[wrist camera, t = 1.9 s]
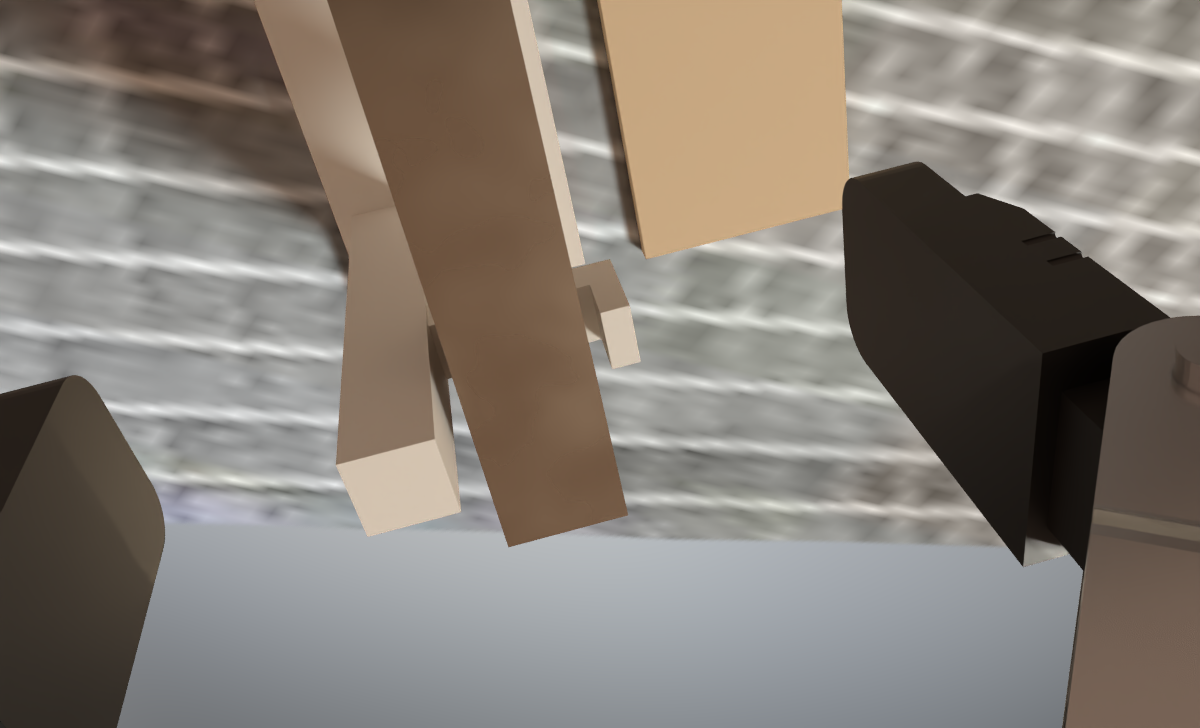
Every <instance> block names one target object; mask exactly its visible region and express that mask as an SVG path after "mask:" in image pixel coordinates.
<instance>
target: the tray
mask: <svg viewBox="0 0 1200 728" xmlns="http://www.w3.org/2000/svg"><path fill="white" fill-rule="evenodd" d="M597 3H598V8H599V14H600V20H601V25H602V31H603V36H604V42H605V47H606V53H607V58H608V64H609V70H610V75H611V81H612V86H613V92H614V97H615V103H616V108H617V114H618V120H619V125H620V131H621V136H622V142H623V147H624V153H625V159H626V164H627V170H628V175H629V181H630V186H631V192H632V197H633V203H634V209H635V214H636V220H637V225H638V231H639V236H640V242H641V248H642V252H643V254H644V256H645V258H646V259H649V258H653V257H657V256H661V255H664V254H668V253H672V252H676V251H680V250H684V249H688V248H692V247H696V246H700V245H704V244H708V243H711V242H715V241H719V240H723V239H727V238H731V237H735V236H739V235H743V234H747V233H751V232H754V231H758V230H762V229H766V228H770V227H774V226H778V225H782V224H786V223H790V222H794V221H798V220H801V219H805V218H809V217H813V216H817V215H821V214H825V213H829V212H833V211H837V210H841V209H842V195H843V189H844V186H845V183H846V182H847V180H849V165H848V142H847V118H846V94H845V71H844V47H843V23H842V0H597Z"/></svg>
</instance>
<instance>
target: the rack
mask: <svg viewBox="0 0 1200 728" xmlns="http://www.w3.org/2000/svg"><path fill="white" fill-rule="evenodd" d="M510 1H511V6H512V10H513V14H514V19H515V23H516V27H517V32H518V36H519V41H520V45H521V49H522V54H523V58H524V62H525V67H526V71H527V75H528V80H529V84H530V89H531V93H532V97H533V102H534V106H535V110H536V115H537V119H538V124H539V128H540V132H541V137H542V141H543V145H544V150H545V154H546V159H547V163H548V167H549V172H550V176H551V180H552V185H553V189H554V194H555V198H556V202H557V207H558V211H559V215H560V220H561V224H562V229H563V233H564V237H565V242H566V246H567V250H568V255H569V259H570V264H571V267H574V266H578V265H582V264H585V261H584V256H583V252H582V247H581V243H580V238H579V234H578V229H577V224H576V220H575V215H574V211H573V206H572V202H571V197H570V192H569V188H568V183H567V179H566V174H565V170H564V165H563V160H562V156H561V151H560V147H559V142H558V138H557V133H556V129H555V124H554V119H553V115H552V110H551V106H550V101H549V97H548V92H547V87H546V83H545V78H544V74H543V69H542V65H541V60H540V55H539V51H538V46H537V42H536V37H535V33H534V28H533V23H532V19H531V14H530V10H529V5H528V1H527V0H510ZM254 3H255V6H256V8H257V11H258V14H259V16H260V19H261V22H262V24H263V27H264V30H265V32H266V35H267V38H268V40H269V43H270V46H271V48H272V51H273V54H274V56H275V59H276V62H277V65H278V67H279V70H280V73H281V75H282V78H283V81H284V83H285V86H286V89H287V91H288V94H289V97H290V99H291V102H292V105H293V107H294V110H295V113H296V115H297V118H298V121H299V123H300V126H301V129H302V131H303V134H304V137H305V140H306V142H307V145H308V148H309V150H310V153H311V156H312V158H313V161H314V164H315V166H316V169H317V172H318V174H319V177H320V180H321V182H322V185H323V188H324V190H325V193H326V196H327V198H328V201H329V204H330V206H331V209H332V212H333V215H334V217H335V220H336V223H337V225H338V228H339V231H340V233H341V236H342V239H343V241H344V244H345V247H346V249H347V252H348V255H349V271H348V286H347V302H346V317H345V333H344V348H343V364H342V379H341V395H340V410H339V426H338V441H337V457H336V466H337V468H338V471H339V473H340V475H341V478H342V480H343V482H344V484H345V487H346V489H347V491H348V493H349V496H350V498H351V500H352V502H353V505H354V507H355V509H356V511H357V514H358V516H359V518H360V520H361V523H362V525H363V527H364V529H365V532H366V534H367V536H368V537H369V536H373V535H377V534H380V533H384V532H388V531H392V530H395V529H399V528H403V527H407V526H410V525H414V524H418V523H422V522H425V521H429V520H433V519H437V518H441V517H444V516H448V515H452V514H456V513H459V512H461V506H460V496H459V486H458V476H457V466H456V456H455V446H454V436H453V426H452V416H451V406H450V395H449V385H448V379H450V378H452V375H451V372H450V369H449V366H448V363H447V360H446V357H445V354H444V351H443V348H442V345H441V342H440V339H439V336H438V333H437V330H436V327H435V324H434V321H433V318H432V315H431V312H430V309H429V306H428V303H427V300H426V297H425V294H424V291H423V288H422V285H421V282H420V279H419V276H418V273H417V270H416V267H415V264H414V261H413V258H412V255H411V252H410V249H409V246H408V243H407V240H406V237H405V234H404V231H403V228H402V225H401V222H400V219H399V216H398V213H397V210H396V207H395V204H394V201H393V198H392V195H391V192H390V189H389V186H388V183H387V180H386V177H385V174H384V170H383V167H382V164H381V161H380V158H379V155H378V152H377V149H376V146H375V143H374V140H373V137H372V134H371V131H370V128H369V125H368V122H367V119H366V116H365V113H364V110H363V107H362V104H361V101H360V98H359V95H358V92H357V89H356V86H355V83H354V80H353V77H352V74H351V71H350V68H349V65H348V62H347V59H346V56H345V53H344V50H343V47H342V44H341V41H340V38H339V35H338V32H337V29H336V26H335V23H334V20H333V17H332V14H331V11H330V8H329V5H328V2H327V0H254ZM572 272H573V277H574V281H575V285H576V290H577V294H578V299H579V303H580V307H581V312H582V316H583V320H584V325H585V329H586V334H587V338H588V342H592V341H596V340H600V339H602V341H603V344H604V347H605V350H606V353H607V355H608V358H609V361H610V364H611V367H612V369H615V368H619V367H622V366H626V365H630V364H634V363H638V362H641V361H640V356H639V351H638V346H637V341H636V335H635V330H634V325H633V320H632V315H631V310H630V305H629V303H628V301H627V298H626V296H625V293H624V291H623V289H622V286H621V284H620V282H619V279H618V277H617V275H616V272H615V270H614V268H613V265H612V263H611V261H610V259H609V260H605V261H601V262H597V263H593V264H589V265H585V266H581V267H577V268H573V269H572Z"/></svg>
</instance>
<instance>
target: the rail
mask: <svg viewBox="0 0 1200 728" xmlns="http://www.w3.org/2000/svg"><path fill="white" fill-rule="evenodd" d="M327 2H328V5H329V8H330V11H331V14H332V17H333V20H334V23H335V26H336V29H337V32H338V35H339V38H340V41H341V44H342V47H343V50H344V53H345V56H346V59H347V62H348V65H349V68H350V71H351V74H352V77H353V80H354V83H355V86H356V89H357V92H358V95H359V98H360V101H361V104H362V107H363V110H364V113H365V116H366V119H367V122H368V125H369V128H370V131H371V134H372V137H373V140H374V143H375V146H376V149H377V152H378V155H379V158H380V161H381V164H382V167H383V170H384V174H385V177H386V180H387V183H388V186H389V189H390V192H391V195H392V198H393V201H394V204H395V207H396V210H397V213H398V216H399V219H400V222H401V225H402V228H403V231H404V234H405V237H406V240H407V243H408V246H409V249H410V252H411V255H412V258H413V261H414V264H415V267H416V270H417V273H418V276H419V279H420V282H421V285H422V288H423V291H424V294H425V297H426V300H427V303H428V306H429V309H430V312H431V315H432V318H433V321H434V324H435V327H436V330H437V333H438V336H439V339H440V342H441V345H442V348H443V351H444V354H445V357H446V360H447V363H448V366H449V369H450V372H451V375H452V378H453V381H454V384H455V387H456V390H457V393H458V396H459V399H460V403H461V406H462V409H463V412H464V415H465V418H466V421H467V424H468V427H469V430H470V433H471V436H472V439H473V442H474V445H475V448H476V451H477V454H478V457H479V460H480V463H481V466H482V469H483V472H484V475H485V478H486V481H487V484H488V487H489V490H490V493H491V496H492V499H493V502H494V505H495V508H496V511H497V514H498V517H499V520H500V523H501V526H502V529H503V532H504V535H505V538H506V541H507V544H508V547H511V546H515V545H518V544H522V543H526V542H530V541H534V540H537V539H541V538H545V537H549V536H552V535H556V534H560V533H563V532H567V531H571V530H575V529H578V528H582V527H586V526H589V525H593V524H597V523H601V522H604V521H608V520H612V519H616V518H619V517H623V516H627V515H628V513H627V508H626V504H625V500H624V495H623V491H622V487H621V482H620V478H619V473H618V469H617V465H616V460H615V456H614V452H613V447H612V443H611V438H610V434H609V430H608V425H607V421H606V417H605V412H604V408H603V403H602V399H601V395H600V390H599V386H598V382H597V377H596V373H595V369H594V364H593V360H592V355H591V351H590V347H589V342H588V338H587V334H586V329H585V325H584V320H583V316H582V312H581V307H580V303H579V299H578V294H577V290H576V285H575V281H574V277H573V272H572V268H571V264H570V259H569V255H568V250H567V246H566V242H565V237H564V233H563V229H562V224H561V220H560V215H559V211H558V207H557V202H556V198H555V194H554V189H553V185H552V180H551V176H550V172H549V167H548V163H547V159H546V154H545V150H544V145H543V141H542V137H541V132H540V128H539V124H538V119H537V115H536V110H535V106H534V102H533V97H532V93H531V89H530V84H529V80H528V75H527V71H526V67H525V62H524V58H523V54H522V49H521V45H520V41H519V36H518V32H517V27H516V23H515V19H514V14H513V10H512V6H511V1H510V0H327Z"/></svg>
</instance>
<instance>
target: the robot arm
mask: <svg viewBox="0 0 1200 728" xmlns="http://www.w3.org/2000/svg"><path fill="white" fill-rule="evenodd" d="M842 215H843V237H844V258H845V280H846V302H847V313H848V319H849V324H850V328H851V331H852V335H853V338H854V341H855V343H856V346H857V348H858V350H859V352H860V354H861V356H862V358H863V359H864V361H865V362H866V364H867V365H868V366H869V368H870V369H871V370H872V372H873V373H874V374H875V375H876V377H877V378H878V379H879V381H880V382H881V383H882V385H883V386H884V387H885V388H886V390H887V391H888V392H889V394H890V395H891V396H892V397H893V399H894V400H895V401H896V403H897V404H898V405H899V407H900V408H901V409H902V410H903V412H904V413H905V414H906V416H907V417H908V418H909V420H910V421H911V422H912V423H913V425H914V426H915V427H916V429H917V430H918V431H919V433H920V434H921V435H922V436H923V438H924V439H925V440H926V442H927V443H928V444H929V446H930V447H931V448H932V449H933V451H934V452H935V453H936V455H937V456H938V457H939V458H940V460H941V461H942V462H943V464H944V465H945V466H946V468H947V469H948V470H949V471H950V473H951V474H952V475H953V477H954V478H955V479H956V481H957V482H958V483H959V484H960V486H961V487H962V488H963V490H964V491H965V492H966V494H967V495H968V496H969V497H970V499H971V500H972V501H973V503H974V504H975V505H976V507H977V508H978V509H979V510H980V512H981V513H982V514H983V516H984V517H985V518H986V519H987V521H988V522H989V523H990V525H991V526H992V527H993V529H994V530H995V531H996V532H997V534H998V535H999V536H1000V538H1001V539H1002V540H1003V542H1004V543H1005V544H1006V545H1007V547H1008V548H1009V549H1010V551H1011V552H1012V553H1013V554H1014V556H1015V557H1016V558H1017V560H1018V561H1019V562H1020V564H1021V565H1022V566H1023V567H1026V566H1029V565H1033V564H1036V563H1040V562H1043V561H1047V560H1051V559H1054V558H1058V557H1061V556H1065V555H1068V554H1070V555H1071V556H1072V557H1073V559H1074V560H1075V561H1076V562H1077V564H1078V565H1079V566H1080V567H1081V568H1082V570H1083V576H1082V583H1081V591H1080V597H1079V605H1078V612H1077V620H1076V627H1075V635H1074V642H1073V650H1072V658H1071V665H1070V672H1069V680H1068V688H1067V695H1066V703H1065V710H1064V717H1063V725H1062V728H1200V316H1183V317H1175V318H1170V317H1169V316H1167V315H1166V314H1165V313H1163V312H1162V311H1161V310H1159V309H1158V308H1157V307H1155V306H1154V305H1153V304H1151V303H1150V302H1149V301H1147V300H1146V299H1144V298H1143V297H1142V296H1140V295H1139V294H1138V293H1136V292H1135V291H1134V290H1132V289H1131V288H1130V287H1128V286H1127V285H1126V284H1124V283H1123V282H1122V281H1120V280H1119V279H1118V278H1116V277H1115V276H1113V275H1112V274H1111V273H1109V272H1108V271H1107V270H1105V269H1104V268H1103V267H1101V266H1100V265H1099V264H1097V263H1096V262H1095V261H1093V260H1092V259H1091V258H1089V257H1085V258H1083V257H1082V254H1081V251H1080V250H1078V249H1077V248H1076V247H1074V246H1073V245H1072V244H1070V243H1069V242H1068V241H1066V240H1065V239H1064V238H1062V237H1058V238H1056V236H1055V232H1054V231H1053V230H1052V229H1050V228H1049V227H1048V226H1046V225H1045V224H1043V223H1042V222H1041V221H1039V220H1038V219H1037V218H1035V217H1034V216H1033V215H1031V214H1030V213H1029V212H1027V211H1026V210H1025V209H1023V208H1020V207H1017V206H1014V205H1011V204H1008V203H1005V202H1002V201H999V200H996V199H993V198H990V197H987V196H984V195H981V194H978V193H977V194H973V195H969V196H964V195H963V194H962V193H960V192H959V191H958V190H957V189H955V188H954V187H953V186H952V185H950V184H949V183H948V182H946V181H945V180H944V179H943V178H941V177H940V176H939V175H938V174H936V173H935V172H934V171H933V170H931V169H930V168H929V167H928V166H926V165H925V164H923V163H922V162H913V163H909V164H905V165H901V166H897V167H893V168H889V169H885V170H881V171H877V172H873V173H870V174H866V175H862V176H858V177H854V178H850V179H849V180H847V182H846V183H845V186H844V189H843V195H842ZM164 542H165V525H164V517H163V512H162V508H161V505H160V502H159V499H158V496H157V494H156V491H155V489H154V487H153V485H152V484H151V482H150V480H149V479H148V477H147V475H146V473H145V472H144V470H143V468H142V467H141V465H140V463H139V462H138V460H137V458H136V457H135V455H134V453H133V451H132V450H131V448H130V446H129V445H128V443H127V441H126V440H125V438H124V436H123V435H122V433H121V431H120V429H119V428H118V426H117V424H116V423H115V421H114V419H113V418H112V416H111V414H110V413H109V411H108V409H107V408H106V406H105V404H104V402H103V401H102V399H101V397H100V396H99V394H98V393H97V391H96V390H95V388H94V387H93V386H92V385H91V384H90V383H89V382H88V381H87V380H86V379H84V378H82V377H80V376H77V375H72V376H68V377H64V378H60V379H57V380H53V381H49V382H45V383H41V384H37V385H33V386H29V387H25V388H21V389H17V390H13V391H10V392H6V393H2V394H0V728H117V724H118V720H119V716H120V713H121V708H122V705H123V701H124V698H125V694H126V690H127V686H128V682H129V678H130V675H131V671H132V667H133V663H134V659H135V655H136V652H137V648H138V644H139V640H140V636H141V632H142V629H143V625H144V621H145V617H146V613H147V609H148V605H149V602H150V598H151V594H152V590H153V586H154V583H155V579H156V575H157V571H158V567H159V563H160V560H161V555H162V552H163V548H164Z"/></svg>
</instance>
